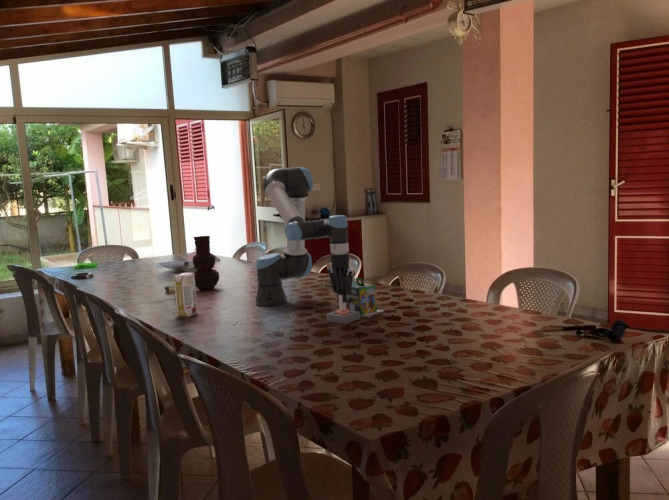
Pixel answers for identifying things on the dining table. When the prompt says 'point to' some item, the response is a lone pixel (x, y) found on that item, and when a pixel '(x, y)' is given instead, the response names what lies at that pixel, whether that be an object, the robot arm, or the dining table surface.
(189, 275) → the juice carton
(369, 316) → the sketch board
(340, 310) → the button
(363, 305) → the chalk box
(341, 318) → the button housing
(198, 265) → the vase
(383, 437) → the dining table surface
